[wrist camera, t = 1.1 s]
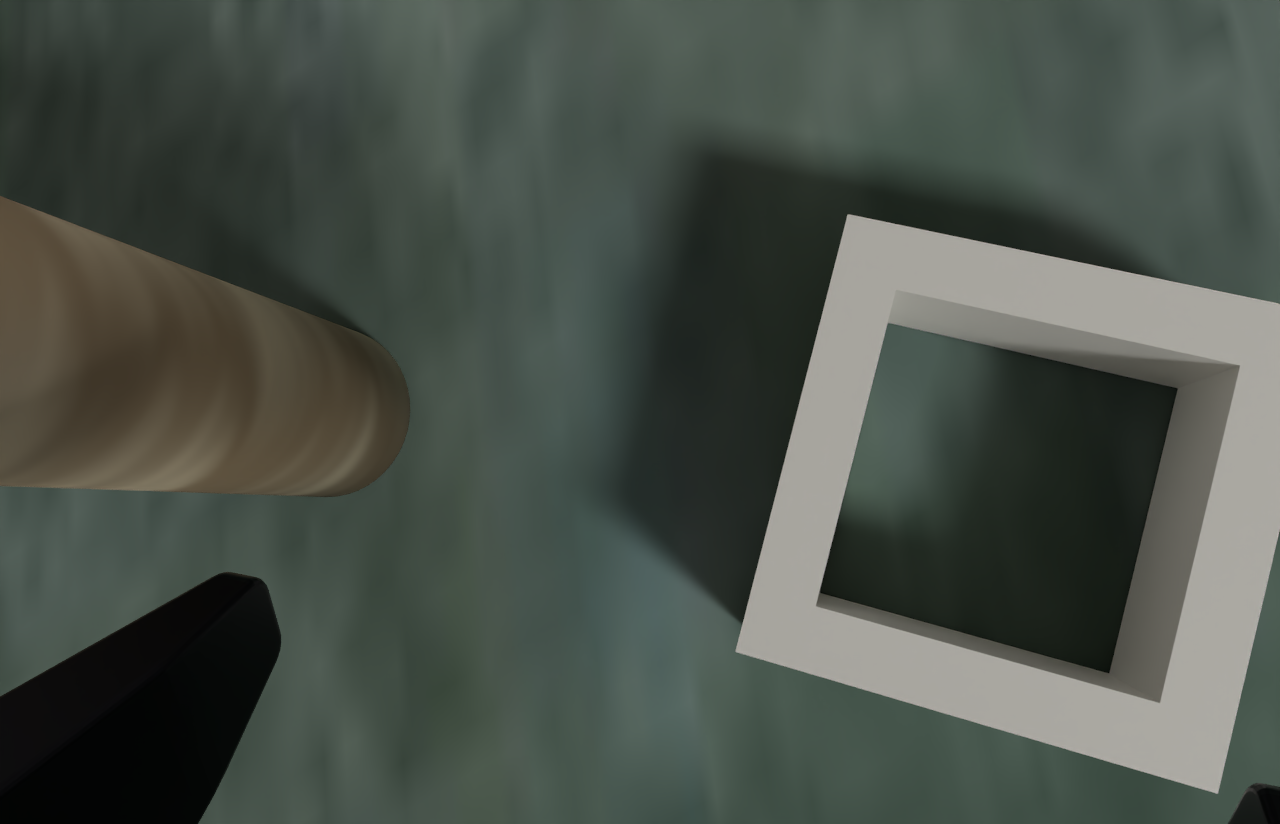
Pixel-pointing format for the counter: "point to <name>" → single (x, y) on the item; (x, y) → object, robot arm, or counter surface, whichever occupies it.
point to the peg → (177, 376)
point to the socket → (1174, 530)
